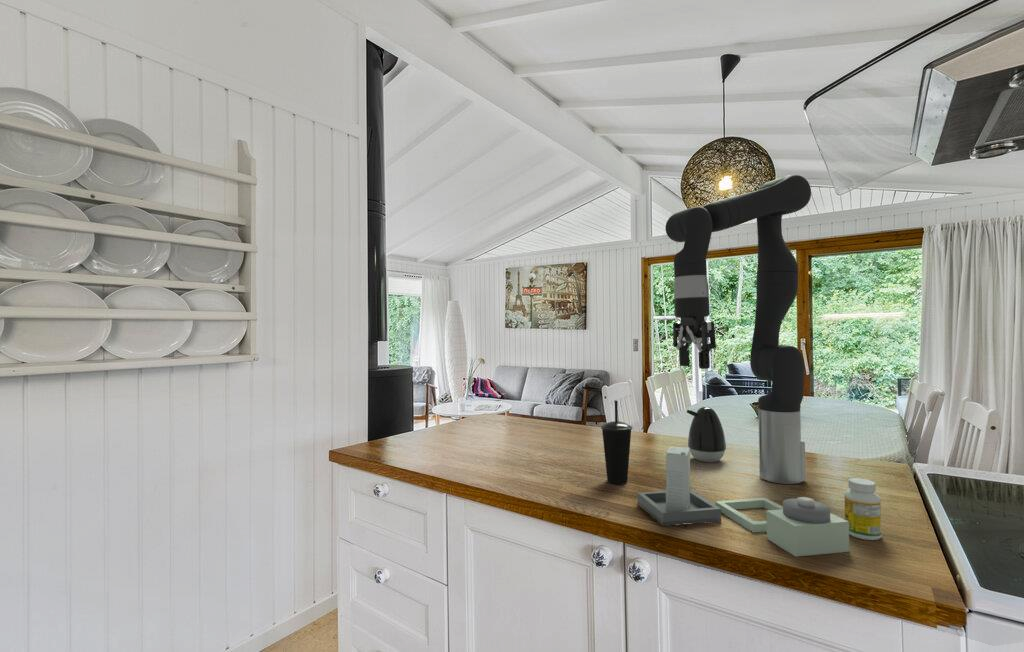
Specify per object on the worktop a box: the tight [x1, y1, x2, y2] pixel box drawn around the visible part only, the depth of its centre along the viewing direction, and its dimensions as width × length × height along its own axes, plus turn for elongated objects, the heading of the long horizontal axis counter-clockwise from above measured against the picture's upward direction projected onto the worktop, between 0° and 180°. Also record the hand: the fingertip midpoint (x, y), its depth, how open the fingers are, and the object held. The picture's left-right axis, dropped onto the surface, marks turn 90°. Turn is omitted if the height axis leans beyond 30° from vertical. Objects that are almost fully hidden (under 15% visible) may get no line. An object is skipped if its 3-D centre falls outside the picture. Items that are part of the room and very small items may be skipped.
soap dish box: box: [714, 496, 850, 558], centre depth 92 cm, size 11×22×8 cm, turn 9°
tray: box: [637, 489, 722, 527], centre depth 100 cm, size 12×12×2 cm
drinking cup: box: [600, 400, 633, 485], centre depth 121 cm, size 8×8×20 cm
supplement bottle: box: [843, 477, 882, 541], centre depth 88 cm, size 5×5×10 cm
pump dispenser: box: [686, 406, 727, 463], centre depth 140 cm, size 10×10×15 cm
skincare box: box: [665, 446, 691, 511], centre depth 100 cm, size 6×4×12 cm
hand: (694, 367), depth 112 cm, fingers open, 8 cm apart
